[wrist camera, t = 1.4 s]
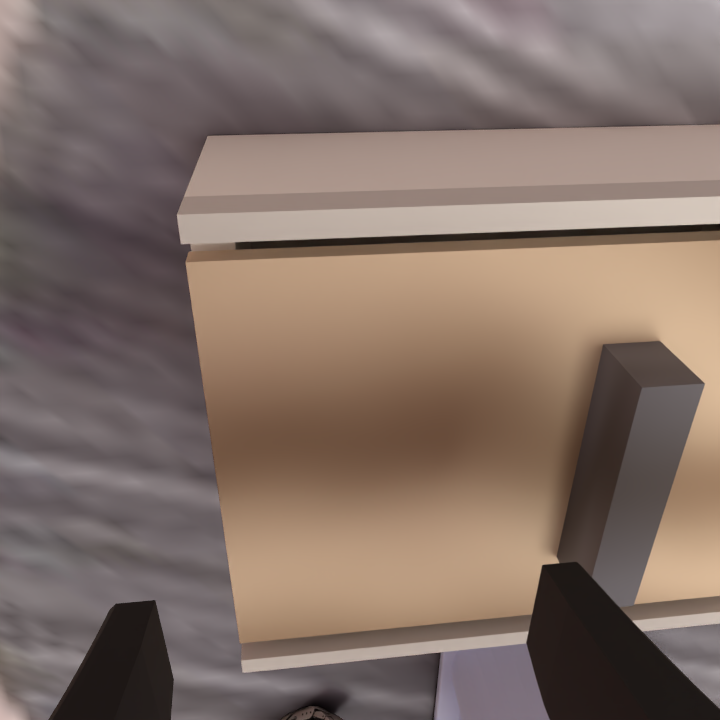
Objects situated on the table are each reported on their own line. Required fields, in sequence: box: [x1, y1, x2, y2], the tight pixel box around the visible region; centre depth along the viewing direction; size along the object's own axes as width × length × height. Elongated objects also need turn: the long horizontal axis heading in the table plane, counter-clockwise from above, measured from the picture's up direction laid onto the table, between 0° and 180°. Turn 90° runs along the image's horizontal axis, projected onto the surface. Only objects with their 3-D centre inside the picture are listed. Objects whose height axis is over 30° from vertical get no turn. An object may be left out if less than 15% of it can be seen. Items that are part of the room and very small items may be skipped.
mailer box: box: [177, 124, 720, 673], centre depth 17 cm, size 12×14×6 cm
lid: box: [186, 231, 720, 643], centre depth 14 cm, size 10×14×2 cm
